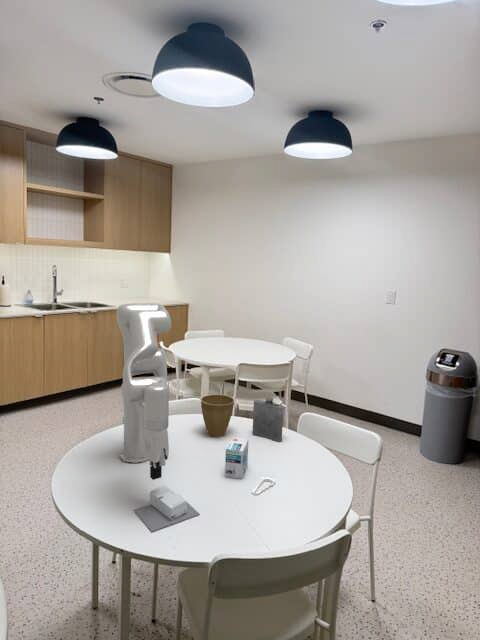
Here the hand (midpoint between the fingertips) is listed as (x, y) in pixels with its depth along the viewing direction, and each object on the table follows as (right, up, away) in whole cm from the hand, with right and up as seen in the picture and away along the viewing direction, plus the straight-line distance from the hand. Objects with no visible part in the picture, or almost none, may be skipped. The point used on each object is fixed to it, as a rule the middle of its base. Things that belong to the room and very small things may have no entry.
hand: (155, 477), depth 143 cm
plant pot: (+16, -1, +57) cm, 60 cm away
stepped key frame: (+35, -9, +13) cm, 39 cm away
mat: (+4, -9, -5) cm, 11 cm away
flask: (+39, -2, +55) cm, 68 cm away
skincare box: (0, -6, +1) cm, 6 cm away
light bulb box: (+26, -6, +23) cm, 35 cm away
